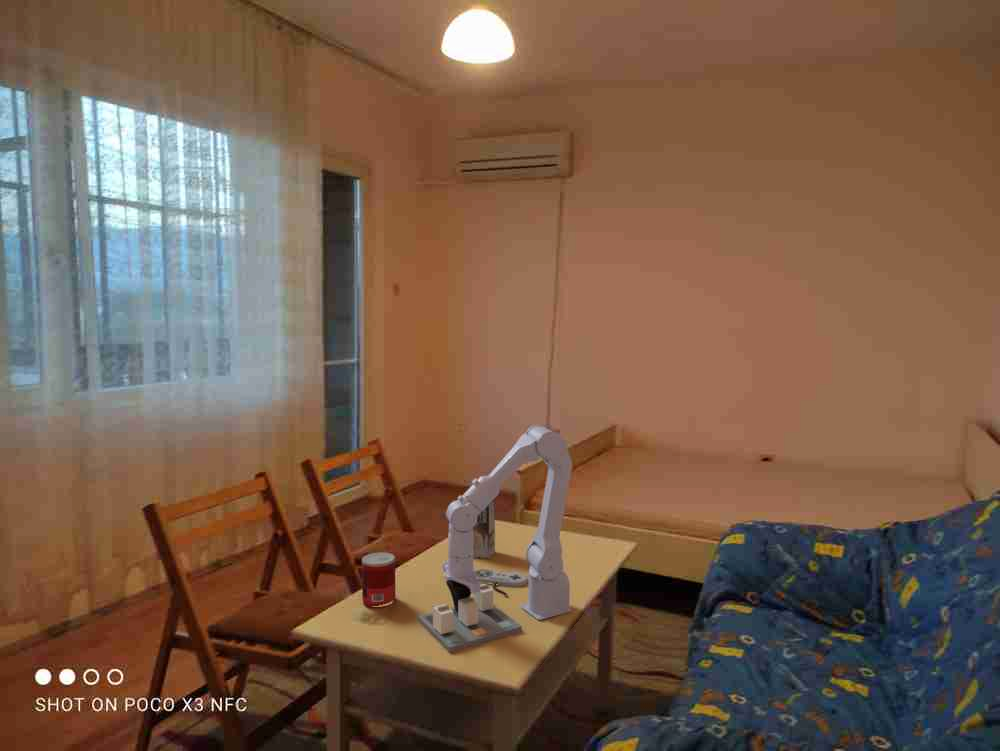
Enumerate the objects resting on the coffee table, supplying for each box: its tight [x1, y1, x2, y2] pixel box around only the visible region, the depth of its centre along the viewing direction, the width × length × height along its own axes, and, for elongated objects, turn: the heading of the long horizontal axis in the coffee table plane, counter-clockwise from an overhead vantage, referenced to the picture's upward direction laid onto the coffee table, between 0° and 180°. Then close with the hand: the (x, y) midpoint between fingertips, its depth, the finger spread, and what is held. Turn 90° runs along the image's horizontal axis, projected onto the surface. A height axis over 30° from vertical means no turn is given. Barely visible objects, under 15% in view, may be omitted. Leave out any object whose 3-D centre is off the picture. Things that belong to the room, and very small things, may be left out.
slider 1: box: [432, 603, 454, 634], centre depth 147 cm, size 3×4×5 cm
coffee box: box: [473, 498, 496, 559], centre depth 195 cm, size 9×6×16 cm
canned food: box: [361, 551, 396, 608], centre depth 164 cm, size 8×8×11 cm
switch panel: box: [417, 604, 523, 653], centre depth 152 cm, size 18×16×1 cm
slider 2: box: [458, 596, 479, 626], centre depth 151 cm, size 3×4×5 cm
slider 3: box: [473, 583, 494, 611], centre depth 158 cm, size 3×4×5 cm
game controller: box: [473, 568, 528, 598], centre depth 174 cm, size 15×13×2 cm
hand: (460, 611), depth 154 cm, fingers closed
